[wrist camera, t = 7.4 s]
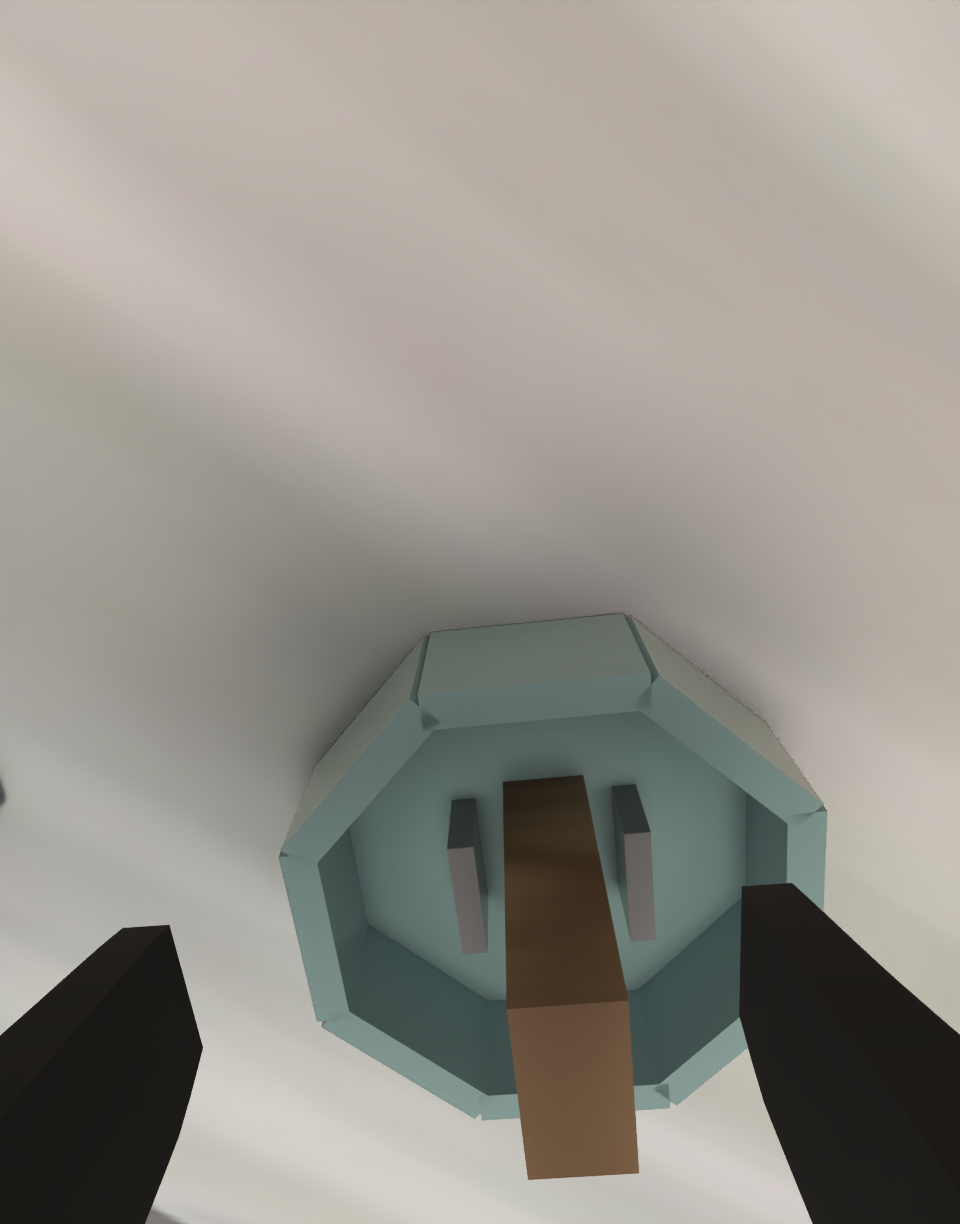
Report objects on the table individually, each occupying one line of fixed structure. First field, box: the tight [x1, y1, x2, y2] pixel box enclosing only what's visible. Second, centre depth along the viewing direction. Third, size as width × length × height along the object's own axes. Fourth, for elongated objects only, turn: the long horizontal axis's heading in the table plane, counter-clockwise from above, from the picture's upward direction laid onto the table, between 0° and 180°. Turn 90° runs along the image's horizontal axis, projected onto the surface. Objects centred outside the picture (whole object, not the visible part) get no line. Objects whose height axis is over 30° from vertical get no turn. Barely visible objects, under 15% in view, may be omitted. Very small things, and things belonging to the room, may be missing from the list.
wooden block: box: [503, 775, 639, 1180], centre depth 17 cm, size 2×4×7 cm, turn 6°
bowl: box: [279, 613, 827, 1120], centre depth 19 cm, size 12×12×4 cm
